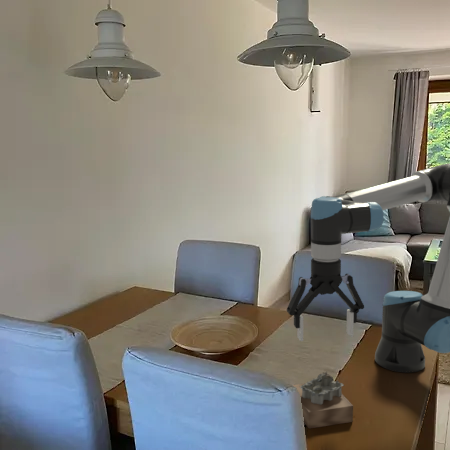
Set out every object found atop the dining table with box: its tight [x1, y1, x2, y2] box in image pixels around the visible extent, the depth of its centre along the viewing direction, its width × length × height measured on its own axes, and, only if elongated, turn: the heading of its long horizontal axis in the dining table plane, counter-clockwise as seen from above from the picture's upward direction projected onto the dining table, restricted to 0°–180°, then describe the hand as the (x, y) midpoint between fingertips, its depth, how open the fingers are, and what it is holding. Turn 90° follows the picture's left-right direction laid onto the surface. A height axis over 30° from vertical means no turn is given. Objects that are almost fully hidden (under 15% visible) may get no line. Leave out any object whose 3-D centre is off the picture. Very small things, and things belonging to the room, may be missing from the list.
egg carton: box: [299, 371, 345, 405], centre depth 133 cm, size 11×8×4 cm
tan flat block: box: [292, 382, 354, 429], centre depth 134 cm, size 12×14×5 cm
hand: (325, 336), depth 133 cm, fingers open, 13 cm apart
